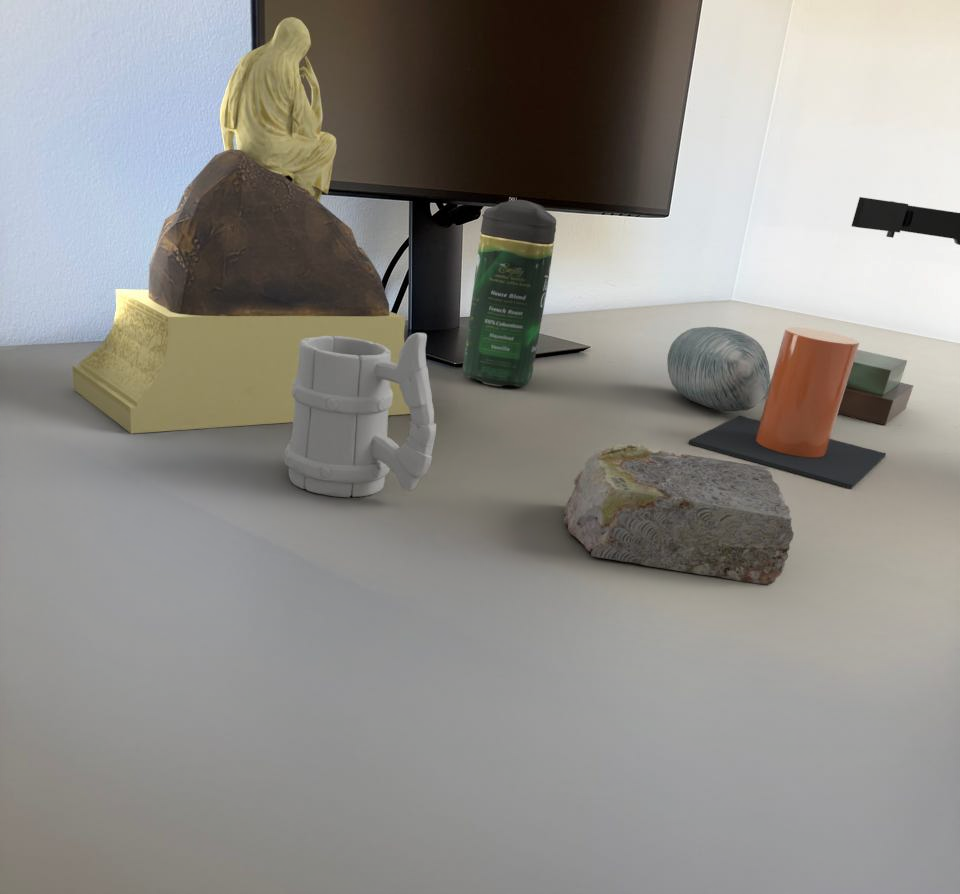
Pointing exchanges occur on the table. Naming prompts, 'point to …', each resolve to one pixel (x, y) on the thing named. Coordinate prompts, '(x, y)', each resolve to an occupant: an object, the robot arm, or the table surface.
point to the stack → (875, 388)
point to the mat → (834, 467)
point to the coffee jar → (509, 293)
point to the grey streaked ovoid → (719, 368)
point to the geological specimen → (681, 513)
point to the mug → (358, 416)
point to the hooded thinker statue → (244, 270)
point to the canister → (806, 391)
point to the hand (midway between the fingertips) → (913, 221)
